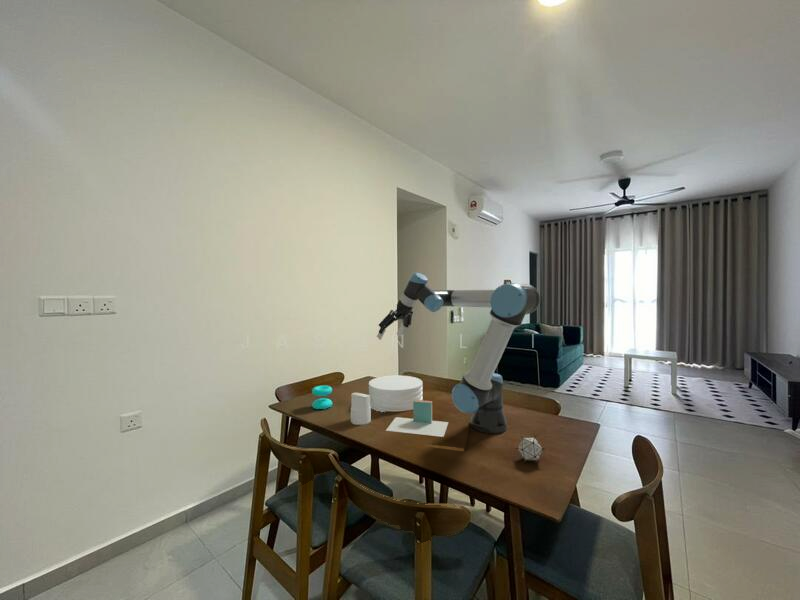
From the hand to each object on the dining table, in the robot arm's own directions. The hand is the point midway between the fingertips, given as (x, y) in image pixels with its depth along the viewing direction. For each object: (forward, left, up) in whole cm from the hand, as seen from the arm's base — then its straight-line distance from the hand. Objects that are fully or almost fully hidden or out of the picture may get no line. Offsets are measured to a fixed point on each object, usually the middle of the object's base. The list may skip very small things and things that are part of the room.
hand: (388, 336), depth 165 cm
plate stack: (-1, -7, -36) cm, 37 cm away
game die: (-62, +37, -36) cm, 81 cm away
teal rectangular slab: (-20, +16, -35) cm, 43 cm away
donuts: (+34, +7, -36) cm, 50 cm away
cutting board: (-19, +21, -36) cm, 46 cm away
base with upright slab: (+8, +19, -36) cm, 42 cm away
